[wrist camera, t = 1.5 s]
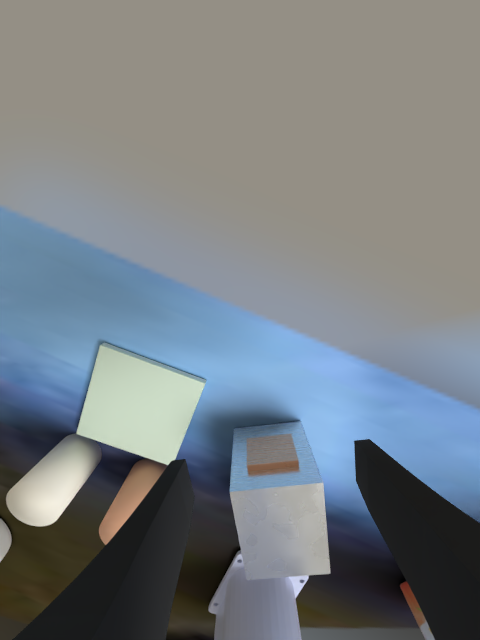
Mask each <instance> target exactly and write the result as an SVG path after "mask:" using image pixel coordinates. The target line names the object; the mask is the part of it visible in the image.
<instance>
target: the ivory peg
mask: <svg viewBox="0 0 480 640" xmlns="http://www.w3.org/2000/svg"><path fill="white" fill-rule="evenodd" d="M101 458H102V451H101V448H100V446H99V445H98V443H97V442H96V441H95V440H93V439H90V438H87V437H84V436H81V435H78V434H71V435H68V436H66V437H65V438H64V439H63V440H62V441H61V442H59V443H58V444H57V445H56V446H55V447H54V448H53V449H52V450H51V451H50V452H49V453H48V454H47V455H46V456H45V457H44V458H43V459H42V460H41V461H40V462H39V463H37V464H36V465H35V466H34V467H33V468H32V469H31V470H30V471H29V472H28V473H27V474H26V475H25V476H24V477H23V478H22V479H21V480H20V481H19V482H18V483H17V484H15V485H14V486H13V487H12V488H11V489H10V490H9V492H8V494H7V497H6V503H7V506H8V509H9V511H10V512H11V513H12V514H13V515H14V516H15V517H16V518H17V519H18V520H20V521H22V522H24V523H26V524H28V525H32V526H47V525H50V524H52V523H54V522H55V521H56V520H57V519H58V518H59V517H60V515H61V514H62V513H63V511H64V510H65V509H66V507H67V506H68V504H69V503H70V502H71V500H72V499H73V498H74V496H75V495H76V494H77V492H78V491H79V490H80V488H81V487H82V485H83V484H84V483H85V481H86V480H87V479H88V477H89V476H90V475H91V473H92V472H93V471H94V469H95V468H96V467H97V465H98V464H99V462H100V461H101Z"/></svg>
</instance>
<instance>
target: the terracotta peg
mask: <svg viewBox="0 0 480 640" xmlns="http://www.w3.org/2000/svg"><path fill="white" fill-rule="evenodd" d="M166 467H167V465H166V464H163V463H160V462H157V461H154V460H152V459H149V458H146V459H142V460H139V461H138V462H136V463H135V464H134V465H133V467H132V469H131V471H130V472H129V474H128V476H127V478H126V480H125V481H124V483H123V485H122V487H121V489H120V490H119V492H118V494H117V496H116V498H115V499H114V501H113V503H112V505H111V506H110V508H109V510H108V512H107V514H106V515H105V517H104V519H103V521H102V523H101V525H100V527H99V535H100V538H101V540H102V541H103V542H104V544H105V545H107V543H108V542H109V541H110V540H111V539H112V538H113V536H114V535H115V534H116V533H117V531H118V530H119V529H120V528H121V527H122V525H123V524H124V523H125V522H126V520H127V519H128V518H129V517H130V516H131V514H132V513H133V512H134V510H135V509H136V508H137V506H138V505H139V504H140V503H141V501H142V500H143V499H144V497H145V496H146V495H147V493H148V492H149V491H150V489H151V488H152V487H153V485H154V484H155V482H156V481H157V480H158V478H159V477H160V476H161V474H162V473H163V472H164V470H165V469H166Z"/></svg>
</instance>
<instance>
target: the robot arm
mask: <svg viewBox="0 0 480 640" xmlns="http://www.w3.org/2000/svg"><path fill="white" fill-rule="evenodd" d="M354 443H355V467H356V482H357V484H358V487H359V489H360V491H361V494H362V496H363V499H364V501H365V503H366V505H367V508H368V510H369V512H370V514H371V516H372V518H373V520H374V521H375V523H376V525H377V527H378V529H379V531H380V533H381V535H382V536H383V538H384V540H385V542H386V544H387V546H388V548H389V549H390V551H391V553H392V555H393V557H394V559H395V560H396V562H397V564H398V566H399V568H400V570H401V572H402V573H403V575H404V577H405V579H406V581H407V583H408V585H409V586H410V588H411V590H412V592H413V594H414V596H415V598H416V600H417V602H418V604H419V606H420V608H421V610H422V613H423V615H424V617H425V619H426V621H427V623H428V626H429V628H430V630H431V632H432V634H433V636H434V639H435V640H480V523H478V522H477V521H475V520H474V519H473V518H471V517H470V516H468V515H467V514H465V513H464V512H462V511H461V510H460V509H458V508H457V507H455V506H454V505H453V504H451V503H450V502H448V501H447V500H446V499H444V498H443V497H441V496H440V495H439V494H437V493H436V492H435V491H433V490H432V489H431V488H429V487H428V486H427V485H426V484H424V483H423V482H422V481H420V480H419V479H418V478H417V477H415V476H414V475H413V474H411V473H410V472H409V471H408V470H406V469H405V468H404V467H403V466H401V465H400V464H399V463H398V462H397V461H395V460H394V459H393V458H392V457H390V456H389V455H388V454H387V453H386V452H384V451H383V450H382V449H381V448H380V447H378V446H377V445H376V444H375V443H373V442H372V441H371V440H370V439H367V440H358V441H354ZM193 504H194V493H193V489H192V485H191V480H190V476H189V472H188V468H187V464H186V460H185V459H182V460H173V461H171V462H170V463H169V465H168V466H167V467H166V469H165V470H164V472H163V473H162V474H161V476H160V477H159V478H158V480H157V481H156V482H155V484H154V485H153V487H152V488H151V489H150V491H149V492H148V493H147V495H146V496H145V497H144V499H143V500H142V501H141V503H140V504H139V505H138V506H137V508H136V509H135V510H134V512H133V513H132V514H131V516H130V517H129V518H128V519H127V520H126V522H125V523H124V524H123V525H122V527H121V528H120V529H119V530H118V531H117V533H116V534H115V535H114V536H113V538H112V539H111V540H110V541H109V542H108V543H107V545H106V546H105V547H104V548H103V549H102V550H101V551H100V553H99V554H98V555H97V556H96V557H95V558H94V559H93V560H92V561H91V563H90V564H89V565H88V566H87V567H86V568H85V569H84V570H83V571H82V572H81V573H80V574H79V575H78V577H77V578H76V579H75V580H74V581H73V582H72V583H71V584H70V585H69V586H68V587H67V588H66V589H65V590H64V591H63V592H62V593H61V594H60V595H59V596H58V597H57V598H56V599H55V600H54V601H53V602H52V603H51V604H50V605H49V606H48V607H47V608H46V609H45V610H44V611H43V612H42V613H41V614H39V615H38V616H37V617H36V618H35V619H34V620H33V621H32V622H31V623H30V624H29V625H28V626H27V627H26V628H25V629H24V630H23V631H21V632H20V633H19V634H18V635H17V636H16V637H15V638H14V639H13V640H165V639H166V633H167V628H168V622H169V617H170V612H171V608H172V603H173V599H174V595H175V590H176V586H177V582H178V578H179V573H180V569H181V565H182V561H183V557H184V552H185V548H186V544H187V539H188V535H189V531H190V526H191V519H192V512H193ZM308 578H309V576H308V575H307V576H294V577H281V578H268V579H255V580H247V579H246V574H245V568H244V563H243V558H242V553H241V550H239V551H238V552H237V553H236V555H235V557H234V559H233V561H232V563H231V565H230V566H229V568H228V570H227V572H226V574H225V576H224V578H223V579H222V581H221V583H220V585H219V587H218V589H217V591H216V593H215V594H214V596H213V598H212V600H211V602H210V604H209V608H208V610H209V612H210V613H213V614H216V624H215V636H214V640H302V639H301V633H300V626H299V620H298V613H297V606H296V600H295V598H296V597H297V595H298V594H299V592H300V591H301V589H302V588H303V586H304V585H305V583H306V582H307V580H308Z"/></svg>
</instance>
